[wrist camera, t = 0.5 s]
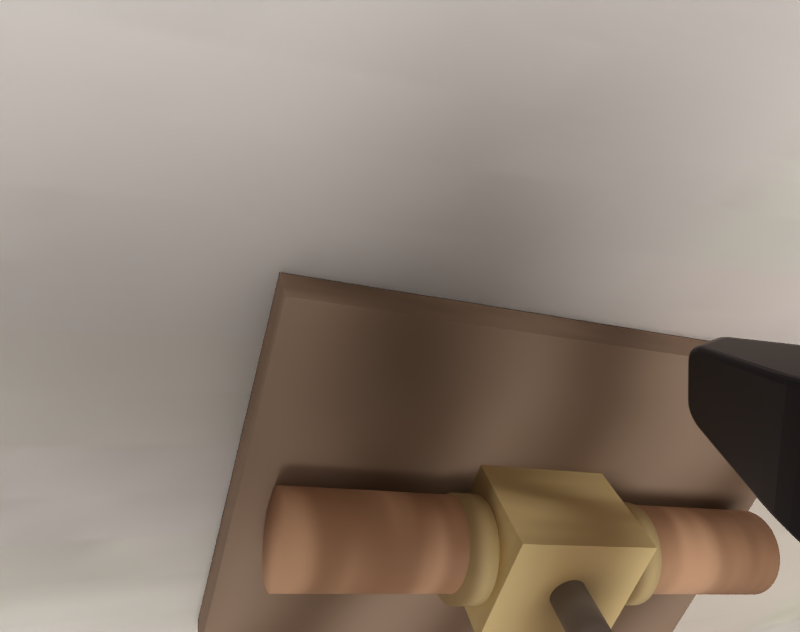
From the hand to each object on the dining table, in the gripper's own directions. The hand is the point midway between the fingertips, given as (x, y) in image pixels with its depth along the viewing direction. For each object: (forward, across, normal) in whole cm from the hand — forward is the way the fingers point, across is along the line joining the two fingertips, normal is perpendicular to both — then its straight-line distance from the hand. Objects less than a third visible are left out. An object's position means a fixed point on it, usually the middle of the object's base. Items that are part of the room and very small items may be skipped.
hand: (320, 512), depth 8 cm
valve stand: (+12, +6, -14) cm, 19 cm away
